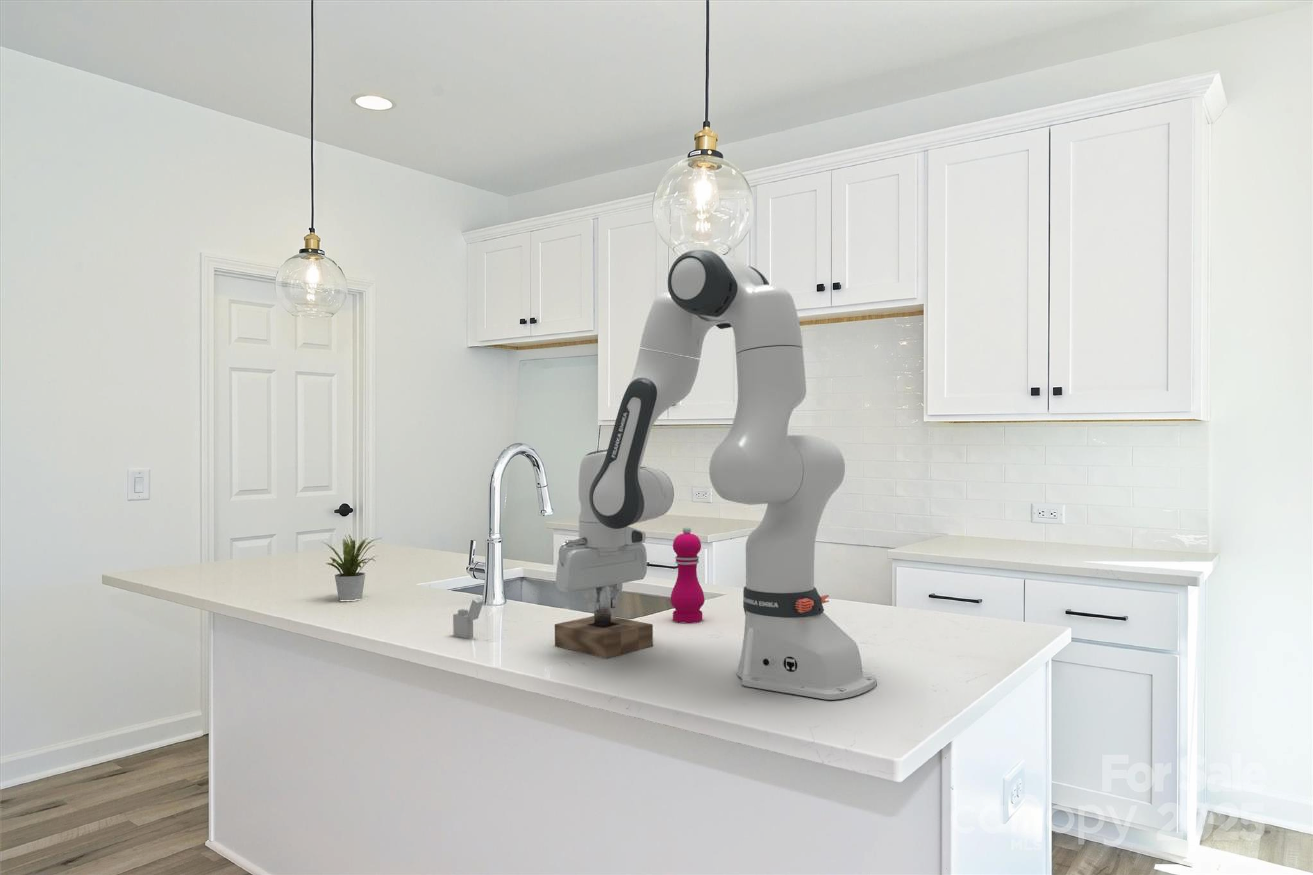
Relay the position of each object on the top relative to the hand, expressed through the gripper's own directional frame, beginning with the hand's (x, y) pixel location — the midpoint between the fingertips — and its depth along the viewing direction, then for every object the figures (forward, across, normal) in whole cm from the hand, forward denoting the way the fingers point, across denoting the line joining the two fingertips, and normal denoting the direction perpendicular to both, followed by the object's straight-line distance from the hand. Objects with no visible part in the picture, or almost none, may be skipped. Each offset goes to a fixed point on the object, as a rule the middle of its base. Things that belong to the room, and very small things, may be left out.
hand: (602, 609), depth 161 cm
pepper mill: (+7, +27, +3) cm, 28 cm away
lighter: (+7, -13, +25) cm, 29 cm away
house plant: (+8, -10, +79) cm, 80 cm away
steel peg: (+4, 0, 0) cm, 4 cm away
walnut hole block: (+7, 0, 0) cm, 7 cm away
